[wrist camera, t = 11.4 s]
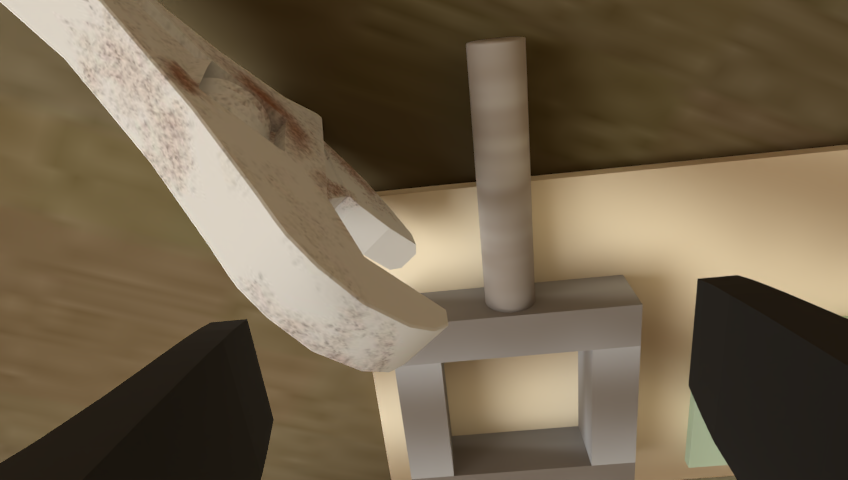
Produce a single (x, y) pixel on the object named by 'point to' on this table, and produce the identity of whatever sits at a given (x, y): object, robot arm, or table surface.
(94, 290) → the table surface
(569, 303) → the chuck board
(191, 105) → the wrench
